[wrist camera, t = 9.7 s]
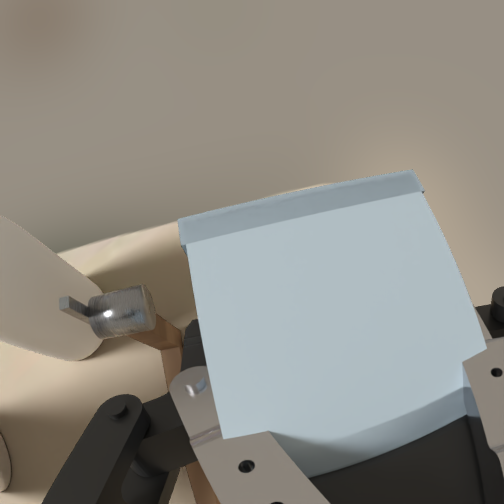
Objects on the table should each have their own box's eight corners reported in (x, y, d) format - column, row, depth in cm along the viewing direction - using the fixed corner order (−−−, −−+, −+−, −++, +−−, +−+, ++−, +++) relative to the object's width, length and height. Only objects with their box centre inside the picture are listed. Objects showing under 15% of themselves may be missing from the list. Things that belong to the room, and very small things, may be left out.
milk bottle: (107, 271, 27) (-46, 115, 9) (117, 354, 24) (-97, 254, 6) (43, 290, 27) (-110, 177, 9) (49, 367, 24) (-142, 295, 6)
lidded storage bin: (262, 430, 14) (231, 496, 4) (239, 331, 16) (177, 219, 6) (364, 401, 14) (502, 395, 4) (336, 306, 16) (412, 169, 6)
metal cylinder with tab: (101, 344, 16) (60, 328, 13) (98, 305, 18) (59, 280, 14) (158, 333, 17) (126, 314, 13) (152, 292, 18) (121, 263, 14)
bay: (209, 529, 18) (183, 575, 10) (162, 334, 25) (118, 308, 17) (426, 468, 18) (479, 488, 11) (373, 280, 25) (407, 235, 18)
